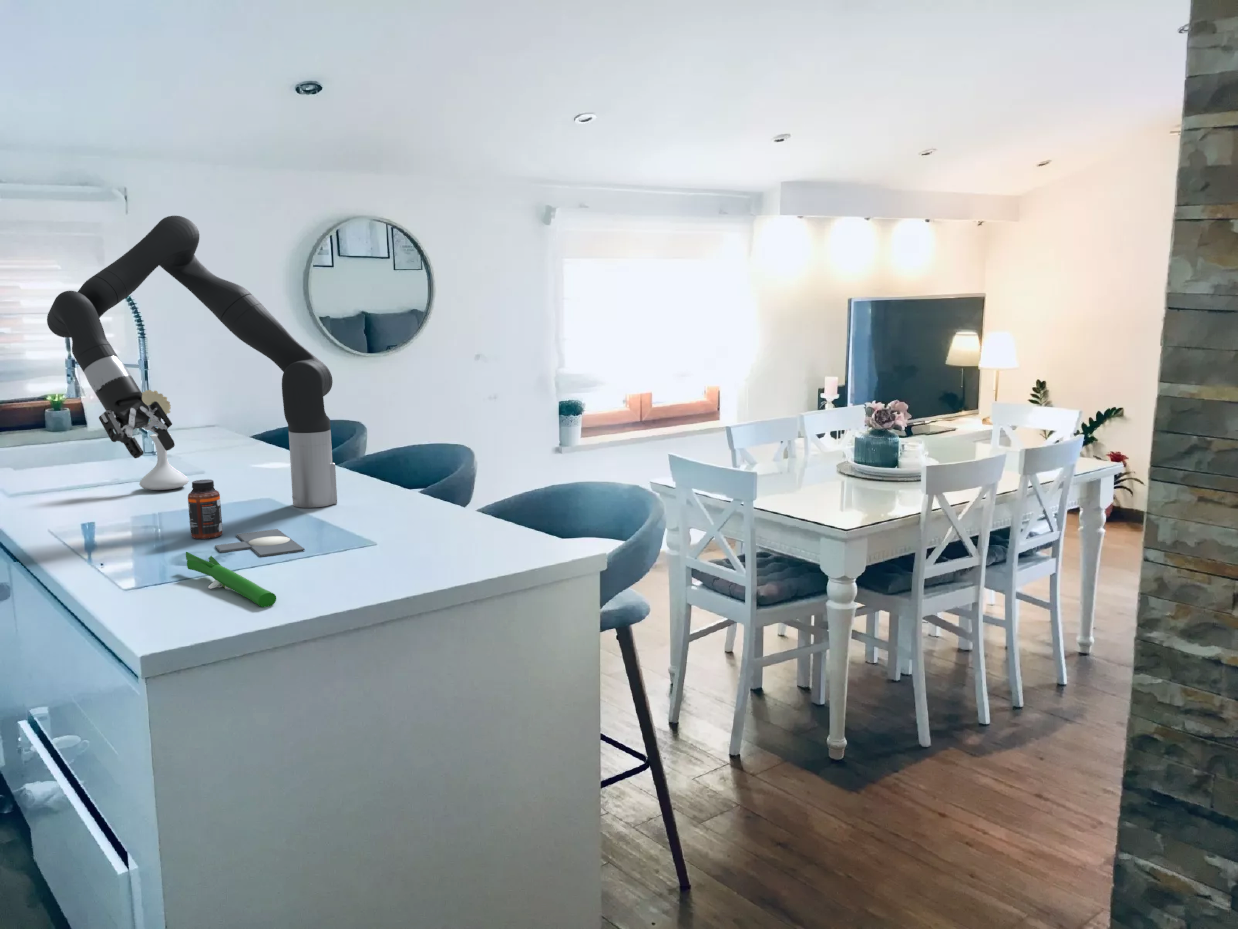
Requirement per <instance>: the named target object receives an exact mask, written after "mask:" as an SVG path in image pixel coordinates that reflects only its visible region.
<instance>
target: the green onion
mask: <svg viewBox="0 0 1238 929" xmlns="http://www.w3.org/2000/svg"><path fill="white" fill-rule="evenodd" d="M185 559H186V568H187V570H191V571H195V572H199V573H201V574H204V575H206V576H210V577H212V578H213V579H214V580H213V582H212V583H210V584H209V585H208V586H207V587H208V589H215V588H222V587H223V589H225V590H227V591H229V590H232V591H234V592H235V593H237V594H239V595H241V596H242V597H244V598H246V599H248V600H249V601H251V602H253V603H255V604H256V605H258V606H259V607H261V608H266V607H268V608H269V607H271V606H273V605H274V604H275V603H276V601H277V596H276V594H275V593H273V592H272V591H269V590H267V589H265V588H263V587H261V586H260V585H258V584H256V583H255V582H253V581H252V580H251V579H248V578H246V577H244V576H243V575H241V574H238V573H237V572H235V571H233V570H231V569H229V568H227V567H225V566H223V565H221V564H220V563H219V562H218V561H217V559H215V557H213V556H212V555H210V556H209V557H208V560H209V561H208V560H206V559H203V558H201V557H198V556H196V555H194V554H192V553H190V552H188V551H185Z"/></svg>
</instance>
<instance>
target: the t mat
mask: <svg viewBox="0 0 1238 929" xmlns="http://www.w3.org/2000/svg"><path fill="white" fill-rule="evenodd" d="M235 535H236V537H237V538H238V539H239V540H241V541H237V542H230V543H223V544H215V545H214V548H215V547H216V548H217V549H218V550H219V551H220V552H222V553H228V552H229V551H230V552H235V551H243V549H245V550H252V551H253V552H254V553H255V554H256V555H257V556H259V557H260V558H262V557H263V556H264V557H268V556H269V557H271V556H276V555H278V554H279V555H284V554H283V553H286V554H289V553H288V552H293V553H298V552H297V551H300V552H303V551H302V550H305V548H304V547H303V546H302V545H300V544H299V543H297V542H296V541H295V540H293V539H292V538H290V537H289V536H288V535H286V534H285V533H284V532H282V531H281V530H279V529H278V528H274V529H266V530H257V531H251V532H242V533H236V534H235ZM216 548H215V549H216ZM217 549H216V550H217ZM218 550H217V551H218ZM219 551H218V552H219ZM305 551H306V550H305ZM220 552H219V553H220ZM230 552H229V553H230Z"/></svg>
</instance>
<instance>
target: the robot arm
mask: <svg viewBox="0 0 1238 929" xmlns="http://www.w3.org/2000/svg"><path fill="white" fill-rule="evenodd" d="M196 225H197V224H195V223H194V222H193V221H192V220H190V219H189V218H187V217H184V216H181V215H170V216H169V215H168V216H165V217H163V218H162V219H161V220H160V221H158V223H157V224H156V225H154V227H153V228H152V229H151V230H150V231H149V232H148V233H147V234H146V235H145V236H144V237H142V239H141V240H140V241H139V242H137V244H135V245H134V246H133V247H131V248H130V249H129V250H128V251H126V252H125V253H124V254H123V255H122V256H120V257H118V258H117V259H116V260H115V261H113V262H112V263H110V264H109V265H107V266H106V267H104V268H102V269H101V270H100V271H98V272H97V273H95V274H94V275H92V276H91V277H90V278H88V279H87V280H86V281H84V282H83V284H82V285H81V287H80V288H79V289H78V291H75V290H66V291H62V292H61V293H59V294H58V295H57V296H56V297H55V298H54V301H53V302H52V305H51V307H50V309H49V311H48V312H47V316H46V324H47V326H48V328H49V330H50V331H51V333H52V334H55V335H56V336H58V337H61V338H66V339H69V338H71V341H72V343H71V352H72V355H73V357H74V359H75V361H76V362H77V364H78V365H79V367H80V368H81V371H82V372H83V373H84V375H85V377H86V380H87V382H88V384H89V386H90V387H91V390H92V391H93V392H94V394H95V395H96V397H97V399H98V400H99V402H100V404H101V406H103V408H104V410H105V411H103V413H101V415H99V416H98V420H99V421H100V422H101V424H102V426H103V428H104V430H105V432H106V434H107V435H108V437H109V439H110V441H111V442H113V443H116V442H119V443H121V444H124V446H125V448H126V449H127V451H128V453H129V454H130V455H131V456H132V457H133V458H134V459H139V458H141V457H142V456H143V455H144V450H143V448H142V447H141V445H140V444H139V442H138V440H137V439H136V438H135V437H133V434H134V432H133V431H134V430H135V429H144V430H146V431H151V433H152V434H156V435H158V436H157V437H158V439H159V441H160V442H161V444H162V445H163V447H164V449H165V450H166V451H170V450H172V449H173V448H174V447H175V446H176V445H175V441H174V439H173V437H172V435H171V436H170V434H171V433H169V431H168V429H169V428H171V426H172V425H173V422H172V421H171V419H170V418H169V417H168V414H167V415H166V414H165V412H164V411H163V409H162V408H161V406H160V405H159V403H158V402H156V401H154V402H153V403H152V404H150V405H146V404H145V403H144V402H143V401H142V391H141V388H139V386H138V384H137V383H136V380H134V378H133V377H132V375H131V373H130V371H129V370H128V368H127V366H126V365H125V364H124V363H123V362H122V360H121V359H120V357H119V356H118V355H117V353H116V351H115V350H114V348H113V346H112V345H111V344H110V341H109V340H108V339H107V337H106V333H105V330H104V327H103V324H102V322H101V320H100V318H101V317H102V316H103V315H104V314H105V313H106V312H108V311H109V310H110V309H112V308H113V307H115V306H116V305H118V304H120V303H121V302H122V301H124V300H125V299H126V298H128V297H129V296H130V295H131V294H132V293H134V292H135V290H137V289H138V288H139V287H140V286H141V285H142V284H143V283H144V282H145V281H146V279H147V278H148V277H150V275H151V274H152V273H153V271H155V270H156V269H157V268H158V267H160V268H162V269H163V270H164V271H165V272H166V273H167V274H169V275H170V276H171V277H172V278H173V279H175V280H176V281H177V282H179V283H180V284H181V285H182V286H184V288H186V289H187V290H188V291H190V293H192V294H193V296H195V297H196V298H197V299H198V300H199V301H200V302H201V303H202V304H203V306H205V307H206V308H207V309H209V311H210V312H211V313H212V314H213V315H214V316H215V317H216V318H217V319H218V320H219V321H220V323H221V324H222V325H223V326H224V327H226V328H227V329H228V330H229V331H230V332H231V333H232V334H233V335H234V336H235V337H236V338H238V339H239V340H240V341H241V342H243V343H245V344H246V345H248V346H249V347H250V348H252V349H254V350H256V351H257V352H259V353H260V354H262V355H263V356H265V357H266V358H268V359H270V361H272V362H273V363H274V364H275V365H276V366H277V367H278V368H279V369H280V370H281V371H282V373H283V374H282V377H281V396H282V405H283V415H284V418H285V421H286V423H287V428H288V444H289V457H290V458H289V460H290V461H289V462H290V477H291V479H290V480H291V493H292V494H291V496H292V497H291V498H292V505H293V506H294V507H295V508H304V509H305V508H308V509H309V508H311V509H312V508H321V507H328V506H331V505H336V504H338V494H337V492H338V489H337V475H336V474H337V471H336V463H335V462H333V452H332V451H333V448H332V432H331V430H332V429H331V427H332V426H331V419H330V417H329V416H328V415H327V414H326V410H325V404H324V403H325V401H324V397H325V396H327V395H328V394H329V392H330V391H331V390H332V386H333V377H332V373H331V371H330V369H329V368H328V366H326V364H325V363H324V362H323V361H321V360H320V359H319V358H318V357H316V355H314V354H312V352H310V351H309V350H308V349H307V348H305V347H304V346H303V345H301V343H300V342H299V341H297V340H296V339H295V338H294V337H293V336H292V335H291V334H290V333H289V332H288V331H287V329H286V328H285V327H284V326H283V325H282V324H281V323H280V322H279V321H278V320H277V319H276V318H275V317H274V316H273V314H272V313H271V312H269V311H268V310H267V308H266V307H265V306H264V305H263V303H261V302H260V301H259V300H258V298H256V297H255V296H254V295H253V293H251V292H250V291H249V290H248V289H246V288H245V287H243V286H241V285H239V284H237V283H235V282H232V281H229V280H226V279H223V278H220V277H219V276H217V275H215V274H213V273H212V272H211V271H210V270H208V269H207V267H205V265H204V264H202V263H201V261H200V260H199V259H198V258H197V257H196V255H195V253H196V251H197V249H198V246H199V242H200V231H199V228H198V227H197V226H196ZM150 420H151V422H150ZM148 422H150V423H148ZM158 427H159V428H158ZM157 428H158V429H157Z"/></svg>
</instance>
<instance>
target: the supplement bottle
mask: <svg viewBox="0 0 1238 929" xmlns="http://www.w3.org/2000/svg"><path fill="white" fill-rule="evenodd" d="M191 488H192V489H191V491H190V492H189V493H188V495H187V503H188V504H187V505H188V517H189V528H190V536H191V537H192V539H196V540H207V539H208V540H209V539H213V538H218V537H220V536H222V535H223V532H224V531H223V520H222V519H223V517H222V507H221V506H222V505H221V493H220V492H219V491H218V489H217V490H216V488H215V483H214V480H213V479H209V478H207V479H198V480H197V479H196V480H193V481H192V482H191Z"/></svg>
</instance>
